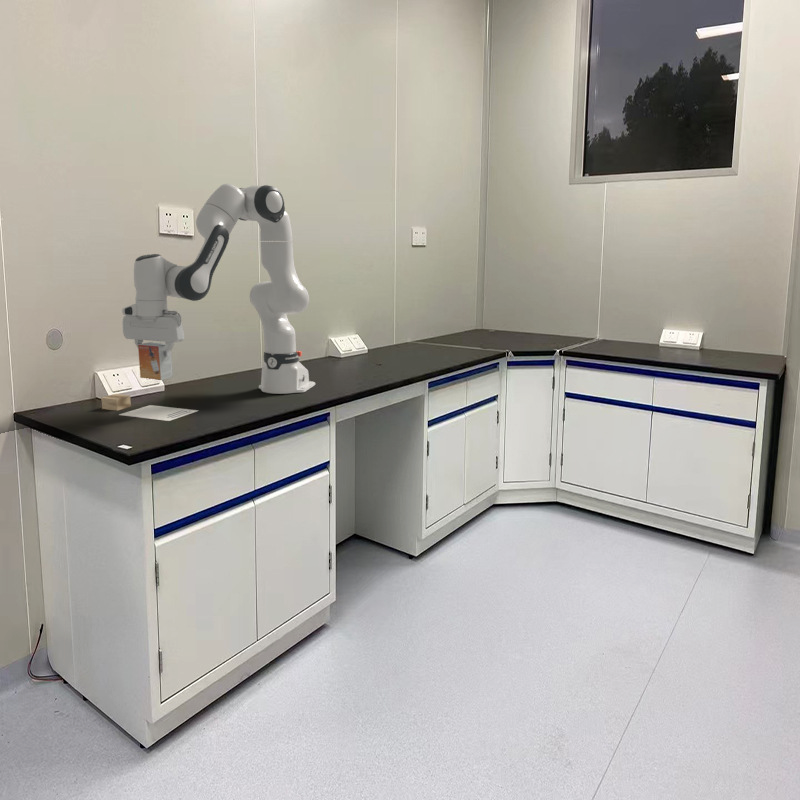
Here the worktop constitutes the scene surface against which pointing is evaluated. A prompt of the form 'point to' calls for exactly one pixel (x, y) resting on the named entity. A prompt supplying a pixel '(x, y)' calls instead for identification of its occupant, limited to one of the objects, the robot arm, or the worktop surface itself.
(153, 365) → the small box
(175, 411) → the letter
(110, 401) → the beech block
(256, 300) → the robot arm
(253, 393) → the worktop surface
